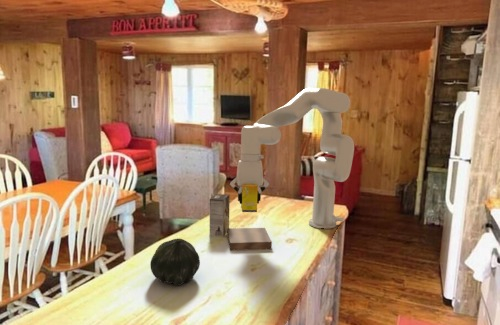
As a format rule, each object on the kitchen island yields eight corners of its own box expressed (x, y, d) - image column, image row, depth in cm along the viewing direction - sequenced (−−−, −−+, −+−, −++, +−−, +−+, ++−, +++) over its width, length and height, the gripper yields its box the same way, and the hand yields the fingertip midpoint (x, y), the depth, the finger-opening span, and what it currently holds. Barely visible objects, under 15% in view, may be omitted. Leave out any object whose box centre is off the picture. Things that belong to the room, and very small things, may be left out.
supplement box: (240, 207, 157) (241, 181, 155) (255, 207, 158) (256, 181, 156) (241, 212, 151) (242, 184, 150) (257, 212, 152) (258, 184, 150)
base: (264, 234, 166) (264, 227, 165) (271, 249, 150) (271, 241, 150) (227, 235, 164) (227, 228, 163) (230, 250, 148) (230, 242, 148)
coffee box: (215, 228, 171) (215, 193, 169) (229, 230, 170) (230, 194, 167) (209, 236, 163) (209, 198, 160) (223, 237, 161) (224, 200, 159)
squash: (160, 250, 133) (153, 228, 121) (204, 253, 133) (200, 232, 121) (151, 291, 124) (142, 272, 113) (197, 294, 124) (193, 276, 112)
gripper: (270, 156, 156) (268, 200, 159) (227, 156, 154) (226, 200, 157) (274, 159, 149) (272, 205, 152) (228, 159, 146) (228, 205, 149)
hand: (249, 202), depth 154 cm, fingers closed on supplement box, 6 cm apart
